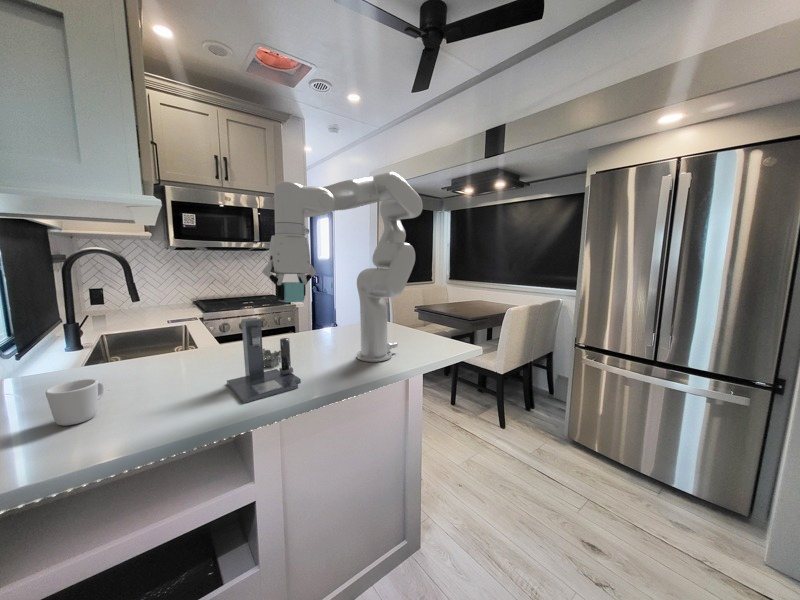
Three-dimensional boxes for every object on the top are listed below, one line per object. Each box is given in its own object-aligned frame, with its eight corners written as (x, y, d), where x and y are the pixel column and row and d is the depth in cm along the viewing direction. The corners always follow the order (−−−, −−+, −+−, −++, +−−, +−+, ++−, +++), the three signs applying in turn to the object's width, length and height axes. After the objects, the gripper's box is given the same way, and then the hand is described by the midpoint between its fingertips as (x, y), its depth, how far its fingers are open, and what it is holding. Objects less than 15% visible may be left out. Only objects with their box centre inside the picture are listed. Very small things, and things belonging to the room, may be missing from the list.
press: (283, 370, 100) (280, 314, 97) (305, 385, 88) (302, 322, 86) (226, 383, 89) (221, 321, 87) (243, 403, 77) (237, 332, 75)
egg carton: (263, 358, 112) (263, 347, 112) (285, 357, 113) (285, 346, 113) (254, 369, 102) (253, 356, 101) (278, 368, 103) (277, 355, 102)
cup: (86, 406, 76) (81, 374, 75) (121, 405, 77) (117, 373, 76) (39, 430, 66) (33, 394, 65) (80, 429, 66) (74, 392, 65)
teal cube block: (296, 299, 90) (296, 282, 89) (303, 301, 86) (303, 283, 85) (278, 300, 86) (278, 282, 86) (285, 302, 82) (285, 283, 82)
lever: (289, 369, 97) (287, 337, 96) (293, 372, 95) (291, 339, 93) (279, 371, 95) (277, 339, 94) (283, 374, 93) (281, 341, 91)
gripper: (313, 234, 92) (313, 296, 94) (251, 229, 81) (253, 299, 83) (325, 233, 87) (325, 299, 89) (261, 227, 76) (263, 302, 77)
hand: (290, 298), depth 86 cm, fingers closed on teal cube block, 5 cm apart
